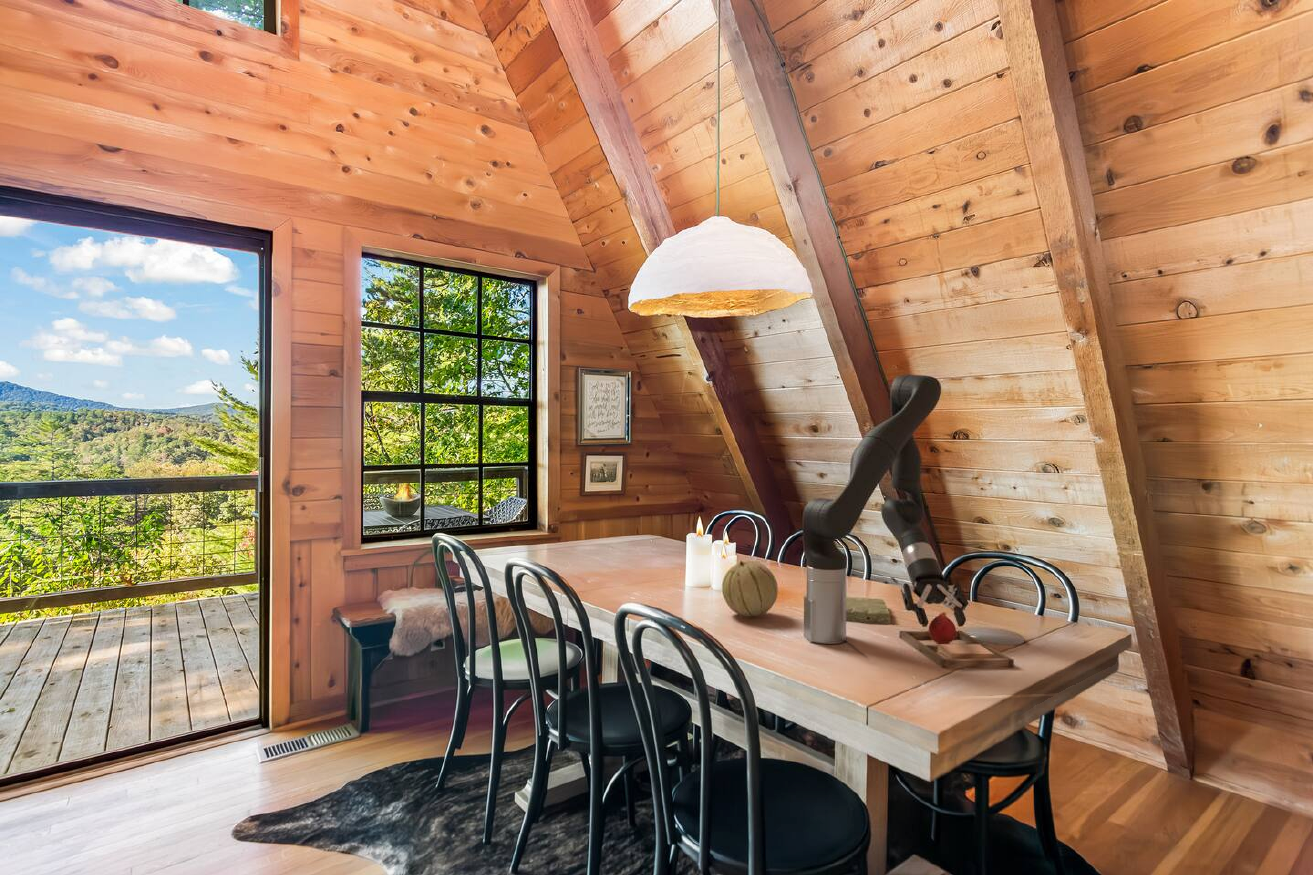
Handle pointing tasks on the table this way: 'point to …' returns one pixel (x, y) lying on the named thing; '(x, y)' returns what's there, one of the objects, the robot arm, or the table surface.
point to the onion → (942, 629)
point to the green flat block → (867, 610)
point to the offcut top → (965, 651)
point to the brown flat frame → (931, 653)
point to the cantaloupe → (749, 588)
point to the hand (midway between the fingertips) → (944, 624)
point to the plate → (995, 635)
